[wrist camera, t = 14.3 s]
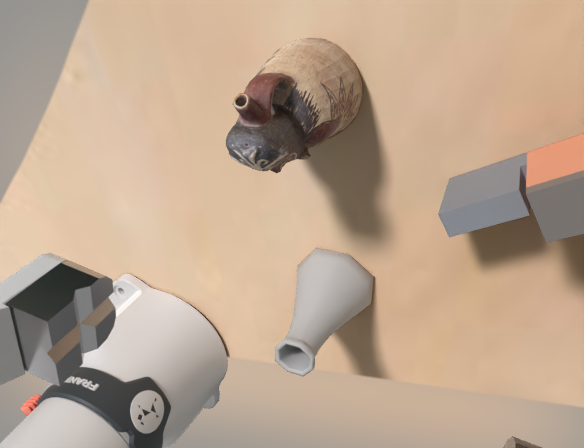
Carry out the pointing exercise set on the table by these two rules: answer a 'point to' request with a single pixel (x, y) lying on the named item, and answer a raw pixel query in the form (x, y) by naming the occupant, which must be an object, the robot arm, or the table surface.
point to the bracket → (486, 197)
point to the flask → (322, 306)
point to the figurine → (294, 104)
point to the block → (557, 188)
